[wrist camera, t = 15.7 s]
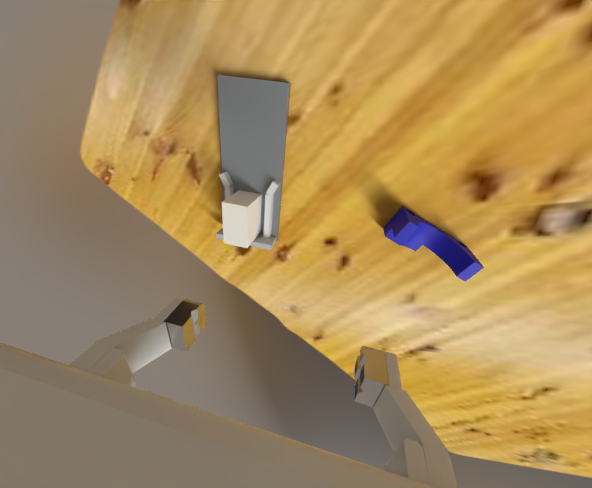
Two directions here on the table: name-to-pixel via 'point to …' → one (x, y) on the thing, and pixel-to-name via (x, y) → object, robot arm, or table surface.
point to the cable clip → (432, 242)
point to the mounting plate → (254, 145)
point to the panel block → (241, 218)
